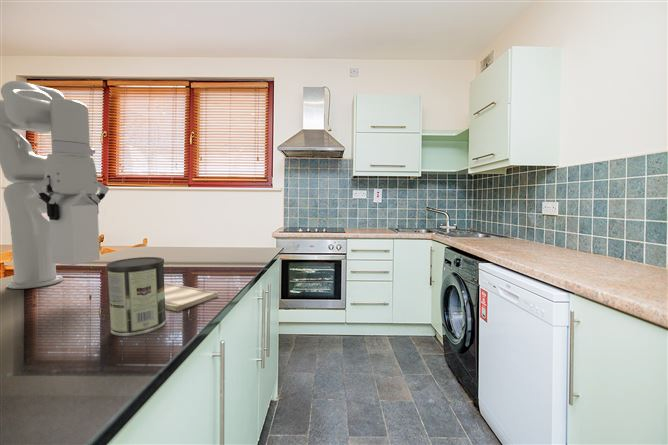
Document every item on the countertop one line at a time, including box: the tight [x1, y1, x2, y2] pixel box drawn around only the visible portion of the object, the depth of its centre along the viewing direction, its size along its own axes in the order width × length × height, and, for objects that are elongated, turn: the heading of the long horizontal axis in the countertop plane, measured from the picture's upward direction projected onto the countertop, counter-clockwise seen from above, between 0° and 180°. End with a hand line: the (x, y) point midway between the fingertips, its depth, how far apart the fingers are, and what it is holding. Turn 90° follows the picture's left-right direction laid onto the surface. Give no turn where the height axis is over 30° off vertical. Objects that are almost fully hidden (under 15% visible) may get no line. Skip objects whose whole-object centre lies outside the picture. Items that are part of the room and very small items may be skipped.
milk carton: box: [48, 190, 101, 266], centre depth 82 cm, size 7×7×19 cm
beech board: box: [164, 282, 219, 312], centre depth 87 cm, size 24×13×1 cm, turn 65°
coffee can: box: [105, 256, 167, 337], centre depth 67 cm, size 10×10×14 cm
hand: (74, 218), depth 82 cm, fingers closed on milk carton, 8 cm apart
